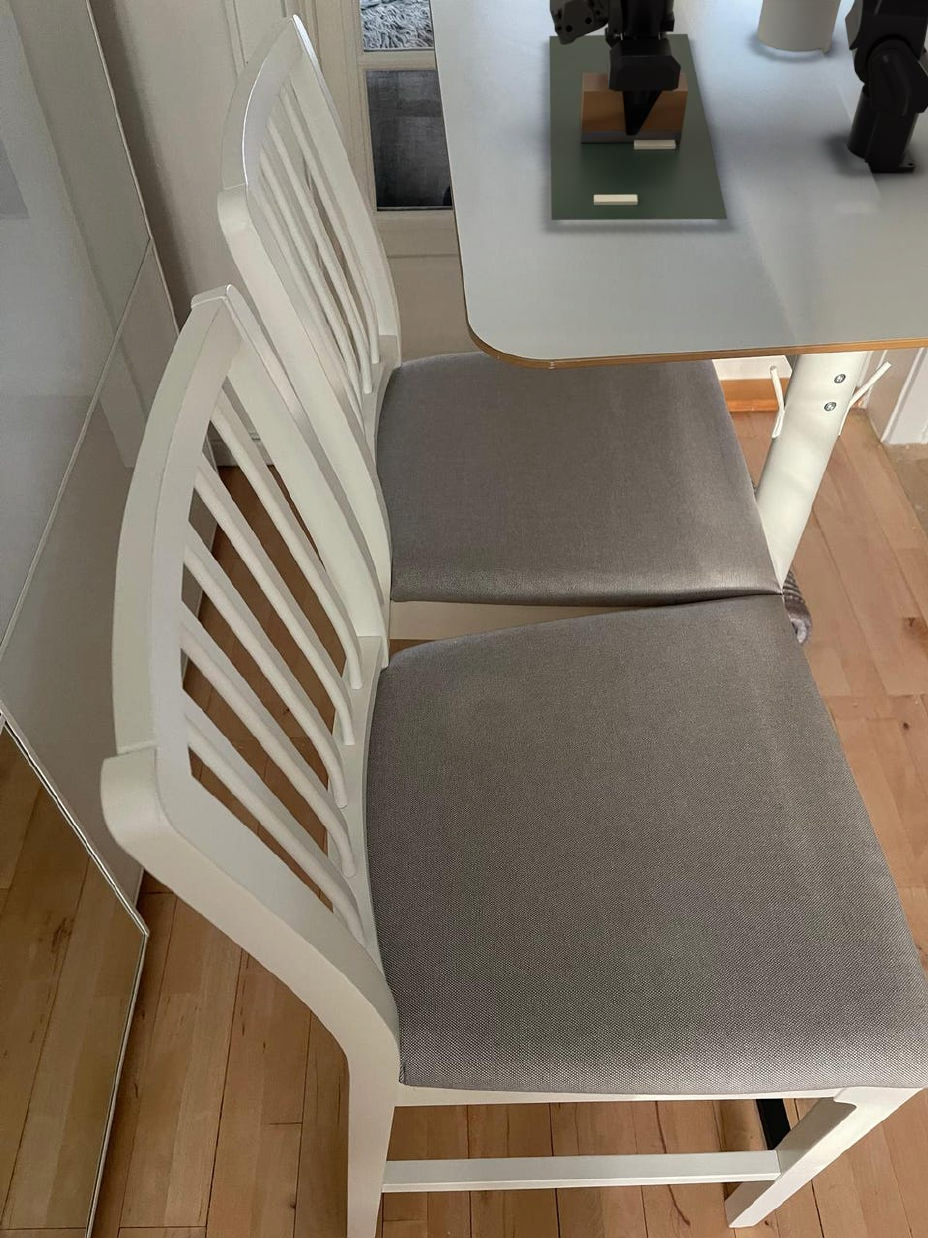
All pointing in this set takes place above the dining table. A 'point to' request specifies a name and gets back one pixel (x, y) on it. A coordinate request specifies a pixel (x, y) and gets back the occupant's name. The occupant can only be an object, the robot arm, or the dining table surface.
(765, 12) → the cup
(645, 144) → the chalk mark
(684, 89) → the eraser
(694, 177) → the chalkboard
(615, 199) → the white rectangular bar
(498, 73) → the dining table surface
